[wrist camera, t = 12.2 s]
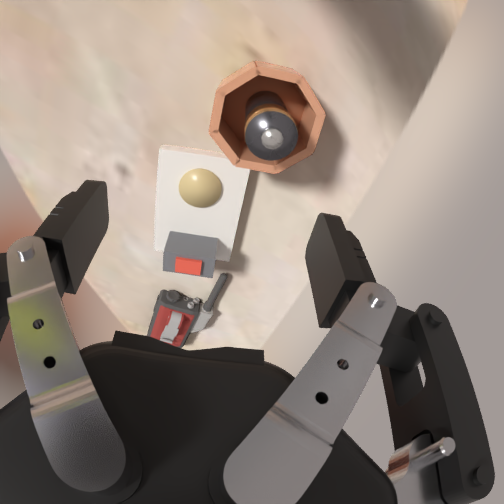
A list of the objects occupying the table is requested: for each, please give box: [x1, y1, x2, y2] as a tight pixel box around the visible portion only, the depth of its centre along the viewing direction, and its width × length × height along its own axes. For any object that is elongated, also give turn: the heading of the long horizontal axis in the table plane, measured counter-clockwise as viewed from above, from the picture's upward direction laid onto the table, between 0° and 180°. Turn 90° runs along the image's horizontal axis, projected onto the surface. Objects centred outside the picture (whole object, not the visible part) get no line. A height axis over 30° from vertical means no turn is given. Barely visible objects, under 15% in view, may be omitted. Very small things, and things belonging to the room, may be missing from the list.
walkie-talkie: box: [147, 273, 227, 348], centre depth 48 cm, size 9×4×20 cm
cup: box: [209, 61, 326, 174], centre depth 28 cm, size 10×10×6 cm
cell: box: [245, 91, 298, 161], centre depth 26 cm, size 4×4×10 cm
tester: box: [154, 144, 250, 278], centre depth 35 cm, size 14×10×6 cm
